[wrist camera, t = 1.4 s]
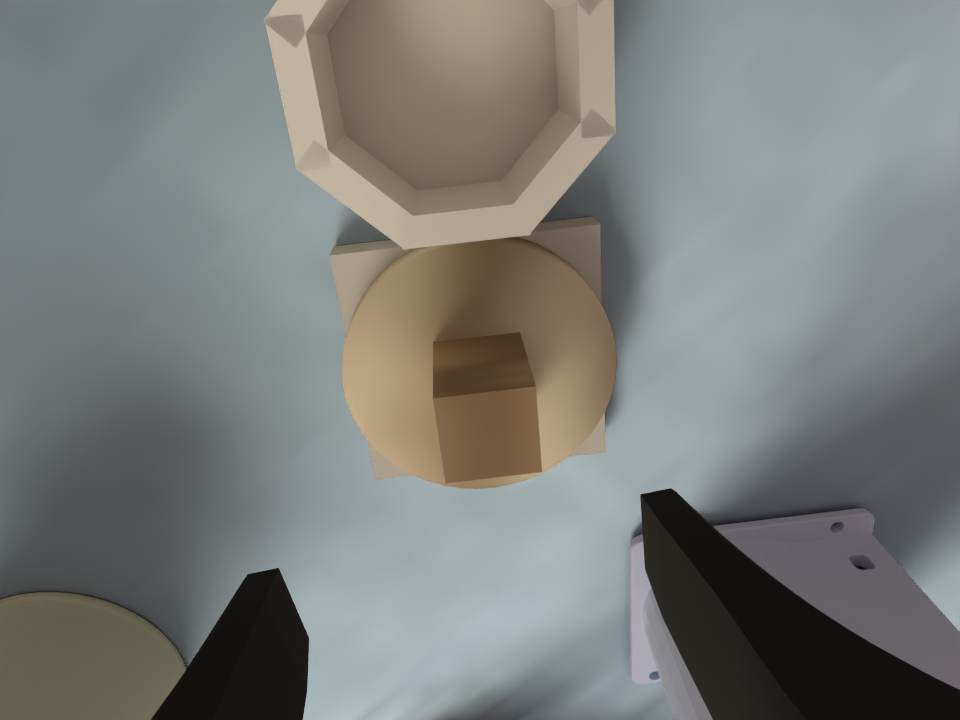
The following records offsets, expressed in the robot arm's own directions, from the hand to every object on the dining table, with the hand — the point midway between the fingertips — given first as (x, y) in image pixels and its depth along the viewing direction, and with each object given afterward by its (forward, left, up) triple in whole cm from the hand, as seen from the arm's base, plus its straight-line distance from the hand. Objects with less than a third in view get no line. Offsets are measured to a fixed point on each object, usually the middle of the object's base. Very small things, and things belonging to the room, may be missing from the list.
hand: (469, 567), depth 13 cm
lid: (-1, 0, -9) cm, 9 cm away
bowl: (-1, -9, -10) cm, 13 cm away
